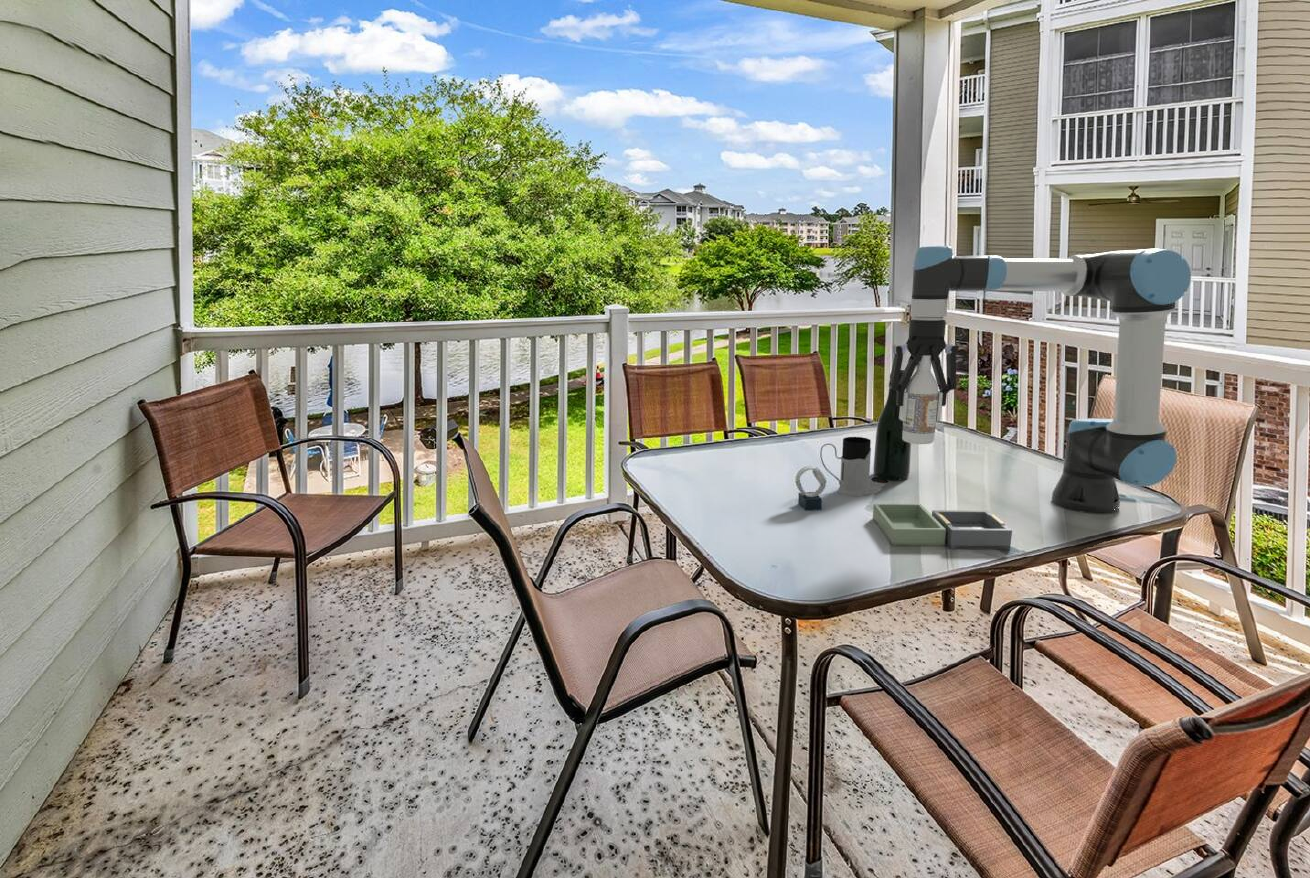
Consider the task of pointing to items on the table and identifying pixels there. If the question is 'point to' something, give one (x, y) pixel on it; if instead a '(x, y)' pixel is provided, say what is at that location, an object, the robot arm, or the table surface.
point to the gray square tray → (974, 530)
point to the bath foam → (921, 405)
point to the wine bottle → (891, 442)
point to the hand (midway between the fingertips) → (919, 419)
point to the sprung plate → (969, 526)
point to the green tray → (908, 525)
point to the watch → (811, 498)
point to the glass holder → (853, 466)
